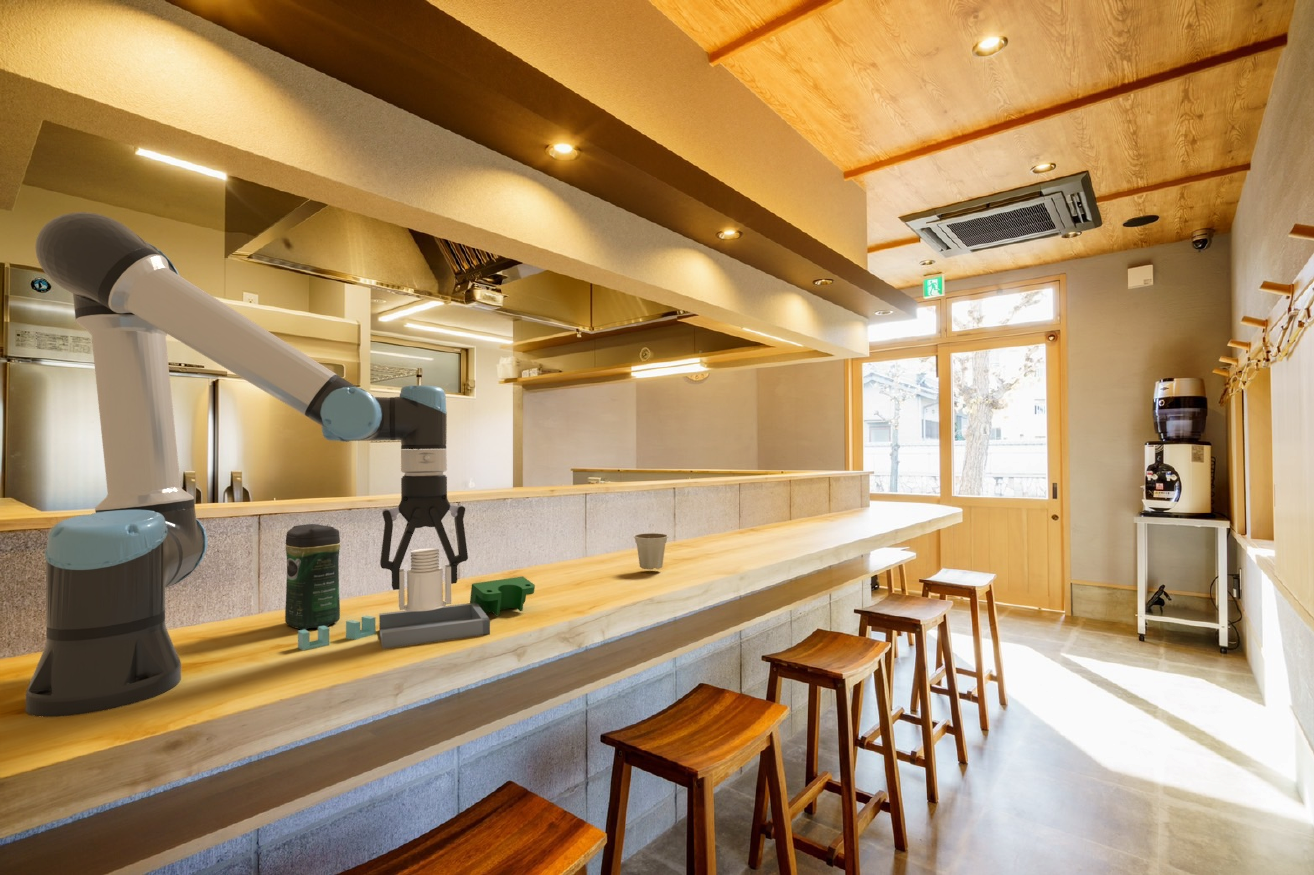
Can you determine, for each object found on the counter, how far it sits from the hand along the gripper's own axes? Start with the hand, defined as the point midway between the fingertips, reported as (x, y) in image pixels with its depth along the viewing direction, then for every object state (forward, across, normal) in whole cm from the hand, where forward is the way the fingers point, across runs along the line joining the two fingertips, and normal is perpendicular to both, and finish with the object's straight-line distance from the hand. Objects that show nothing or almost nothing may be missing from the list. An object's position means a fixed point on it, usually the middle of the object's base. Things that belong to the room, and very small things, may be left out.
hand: (425, 604), depth 107 cm
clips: (+5, -14, +2) cm, 15 cm away
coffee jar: (+5, -18, +17) cm, 25 cm away
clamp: (+7, +17, +9) cm, 20 cm away
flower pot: (+6, +61, +35) cm, 70 cm away
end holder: (+5, +1, 0) cm, 5 cm away
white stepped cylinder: (+1, 0, 0) cm, 1 cm away
